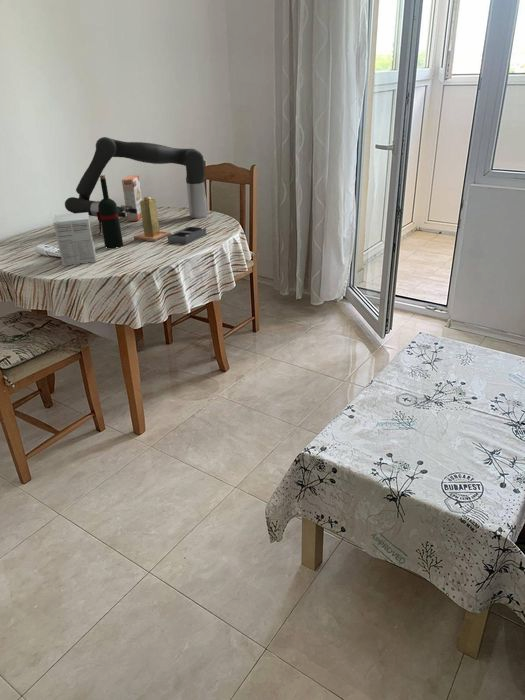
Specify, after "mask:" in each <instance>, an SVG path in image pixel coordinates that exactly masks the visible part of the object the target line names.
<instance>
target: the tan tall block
mask: <svg viewBox="0 0 525 700" xmlns="http://www.w3.org/2000/svg"><path fill="white" fill-rule="evenodd" d="M156 201H157V200H156V199H153V198H151V196H144V197H143V199H142V200H141V201H140V207H141V214H142V217H141V221H142V227H143V232H144V235H145V236H146V237H155V236H158V235H160V231H161V230H160V225H159V217H158V209H157V202H156Z"/></svg>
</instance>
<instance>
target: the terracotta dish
mask: <svg viewBox="0 0 525 700" xmlns="http://www.w3.org/2000/svg"><path fill="white" fill-rule="evenodd" d="M159 231H160V235H158V236H155V237H146V236H145V235H144V231H143V232H141V233H139V234H137V235H134V236H133V240H134V239H137V240H136V241H144V240H147V241H146V242H153V241H155V242H159V241H161V240H163V239H165V238H168V235H170V234H172V233H171V231H164V230H159ZM160 239H161V240H160ZM158 240H159V241H158ZM155 242H154V243H155Z"/></svg>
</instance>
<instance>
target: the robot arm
mask: <svg viewBox="0 0 525 700" xmlns="http://www.w3.org/2000/svg"><path fill="white" fill-rule="evenodd" d="M112 158H125V159H129V160H133V161H136V162H140V163H141V162H142V163H145V164H146V163H147V164H153V165H154V164H155V165H163V164H164V165H166V164H173V165H174V164H175V165H181V166H185V170H186V171H185V172H186V177H185V182H186V183H185V185H186V193H187V201H188V203H187V204H188V215H189V217H190V218H192V219H201V218H206V217H207V216H208V214H209V213H208V204H207V203H208V202H207V201H208V200H207V196H206V187H205V176H206V175H205V160H204V159H205V158H204V155H203V154H202V152H201V151H199V150H197V149H196V148H179V147H178V148H177V147H176V148H175V147H171V146H167V145H164V144H163V145H162V144H157V143H150V142H141V141H122V140H118V139H115V138H110V137H107V136H106V137H105V136H103V137H100V138H98V139H97V140H96V143H95V152H94V155H93V158H92V159H91V162H90V163H89V165H88V167H87V169H86V170H85V172H84V174H82V177H81V179H80V180H79V182H78V184H77V186H76V188H75V192H76V193H77V194H78V198H77V197H73V196H72V197H71V196H70V197H68V198H67V199H66V200H65V201H64V207H65V209H66V210H67V211H68V212H70V213H71V214H75V213H86V212H88V215H89V217H90V216H91V217H97V212H99V208H98V205H99V203H100V201H101V200H97V201H96V200H90V197H91V195H92V193H93V191H94V189H95V188H96V185H97V183H98V181H99V180H100V176H101V175H102V174H103V171H104V169H105V168H106V166H107V165H108V163H109V162H110V161H111V160H112ZM117 211H118V217H119V218H124V219H125V218H127V213H134V214H136V213H137V209H134V208H132V206H125V205H117Z"/></svg>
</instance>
